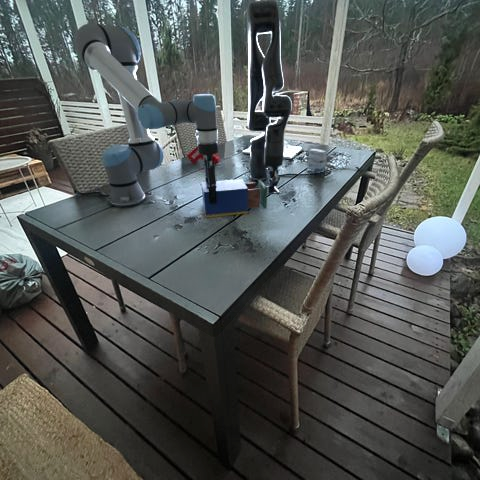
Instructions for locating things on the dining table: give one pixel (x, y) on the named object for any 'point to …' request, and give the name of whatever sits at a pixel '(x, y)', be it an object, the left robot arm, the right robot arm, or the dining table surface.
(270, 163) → the right robot arm
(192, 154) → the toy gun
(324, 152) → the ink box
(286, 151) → the relief map
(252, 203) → the drawer
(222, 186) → the cabinet
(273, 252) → the dining table surface
